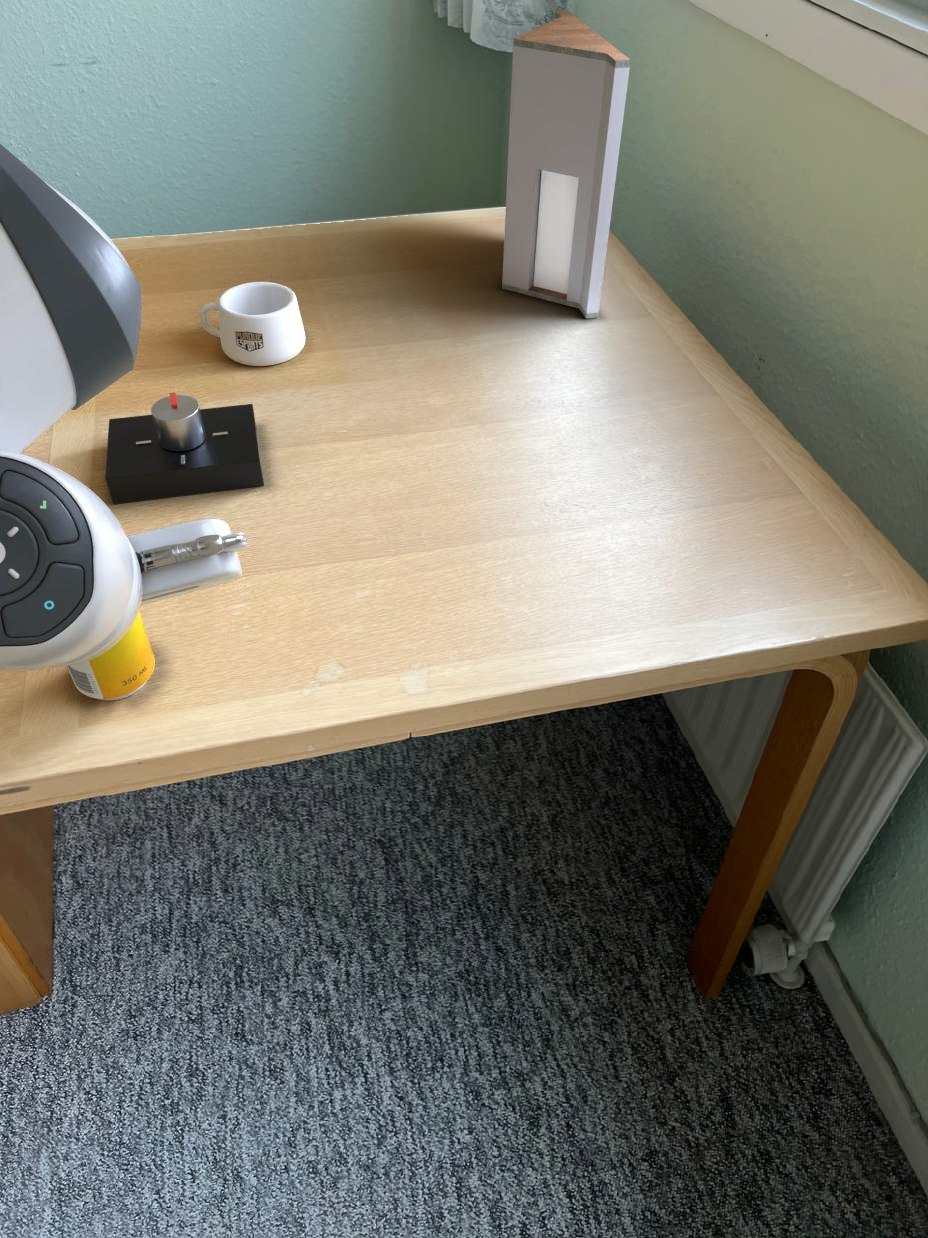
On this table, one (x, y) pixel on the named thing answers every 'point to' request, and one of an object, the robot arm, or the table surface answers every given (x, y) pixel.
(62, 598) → the robot arm
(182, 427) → the knob
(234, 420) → the panel
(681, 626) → the table surface
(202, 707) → the table surface
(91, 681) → the beer can
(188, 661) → the table surface
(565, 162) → the cabinet
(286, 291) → the mug
